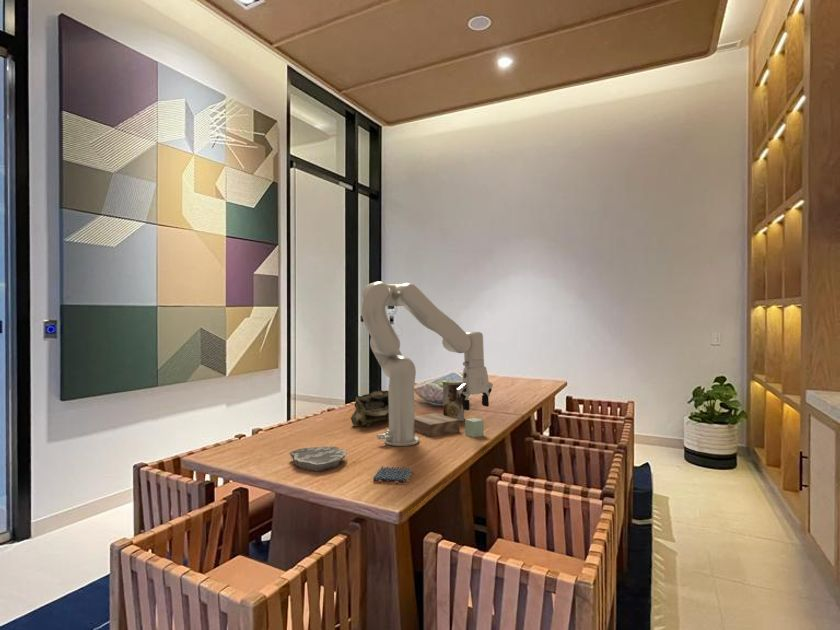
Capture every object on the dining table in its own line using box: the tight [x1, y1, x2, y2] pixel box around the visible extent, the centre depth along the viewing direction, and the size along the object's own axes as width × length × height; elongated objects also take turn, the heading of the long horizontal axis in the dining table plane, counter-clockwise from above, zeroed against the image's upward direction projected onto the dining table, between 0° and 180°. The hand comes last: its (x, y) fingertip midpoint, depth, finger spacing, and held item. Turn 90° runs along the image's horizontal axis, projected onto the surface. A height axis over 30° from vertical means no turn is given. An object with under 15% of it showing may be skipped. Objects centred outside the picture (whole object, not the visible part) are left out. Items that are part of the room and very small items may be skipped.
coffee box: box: [442, 381, 465, 422], centre depth 214 cm, size 9×6×16 cm
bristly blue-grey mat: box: [372, 465, 415, 485], centre depth 140 cm, size 10×11×2 cm
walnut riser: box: [414, 412, 460, 438], centre depth 196 cm, size 14×16×5 cm
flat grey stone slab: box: [289, 446, 348, 472], centre depth 155 cm, size 20×17×3 cm
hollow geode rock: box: [350, 389, 389, 427], centre depth 213 cm, size 28×13×15 cm
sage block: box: [464, 417, 485, 438], centre depth 187 cm, size 5×5×6 cm
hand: (476, 407), depth 188 cm, fingers open, 9 cm apart
